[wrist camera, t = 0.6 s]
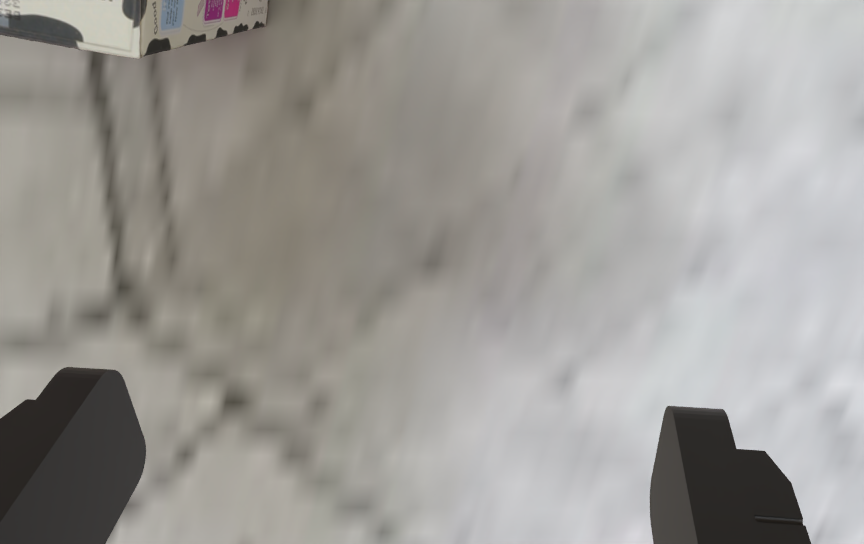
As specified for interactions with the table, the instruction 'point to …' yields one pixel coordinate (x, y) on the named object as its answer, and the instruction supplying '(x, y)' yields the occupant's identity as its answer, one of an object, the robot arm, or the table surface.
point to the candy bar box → (128, 23)
